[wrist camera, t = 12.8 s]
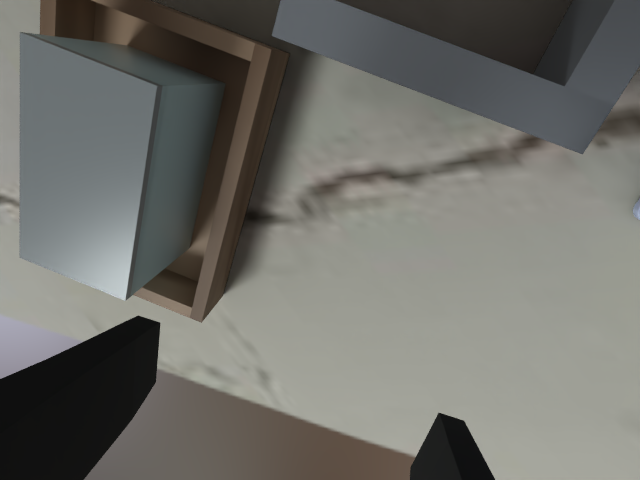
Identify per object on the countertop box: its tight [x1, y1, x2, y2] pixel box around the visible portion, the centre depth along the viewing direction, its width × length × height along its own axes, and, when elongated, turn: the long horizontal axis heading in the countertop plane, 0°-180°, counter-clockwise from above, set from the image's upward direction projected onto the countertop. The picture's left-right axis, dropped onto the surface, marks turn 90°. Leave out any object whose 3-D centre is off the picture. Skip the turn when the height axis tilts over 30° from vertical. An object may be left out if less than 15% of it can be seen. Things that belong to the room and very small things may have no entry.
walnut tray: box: [40, 0, 290, 323], centre depth 17 cm, size 9×12×2 cm
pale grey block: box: [20, 32, 226, 301], centre depth 15 cm, size 4×8×5 cm, turn 161°
